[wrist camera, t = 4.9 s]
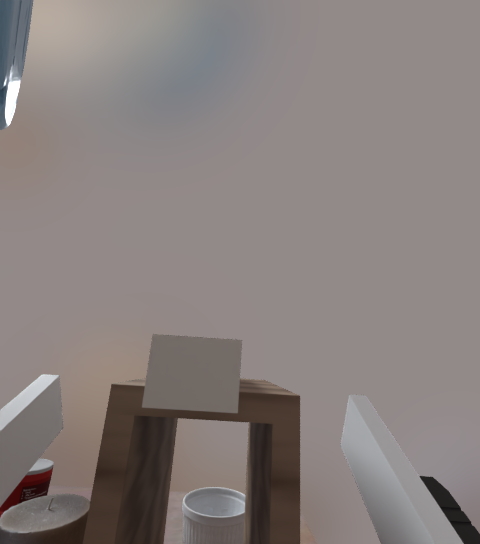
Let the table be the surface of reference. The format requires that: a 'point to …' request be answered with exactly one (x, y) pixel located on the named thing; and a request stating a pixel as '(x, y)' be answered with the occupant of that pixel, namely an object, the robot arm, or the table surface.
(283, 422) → the stand
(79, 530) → the pillar candle
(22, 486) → the canned food
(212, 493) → the ramekin
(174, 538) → the table surface
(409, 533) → the robot arm
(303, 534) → the table surface
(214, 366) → the bar
